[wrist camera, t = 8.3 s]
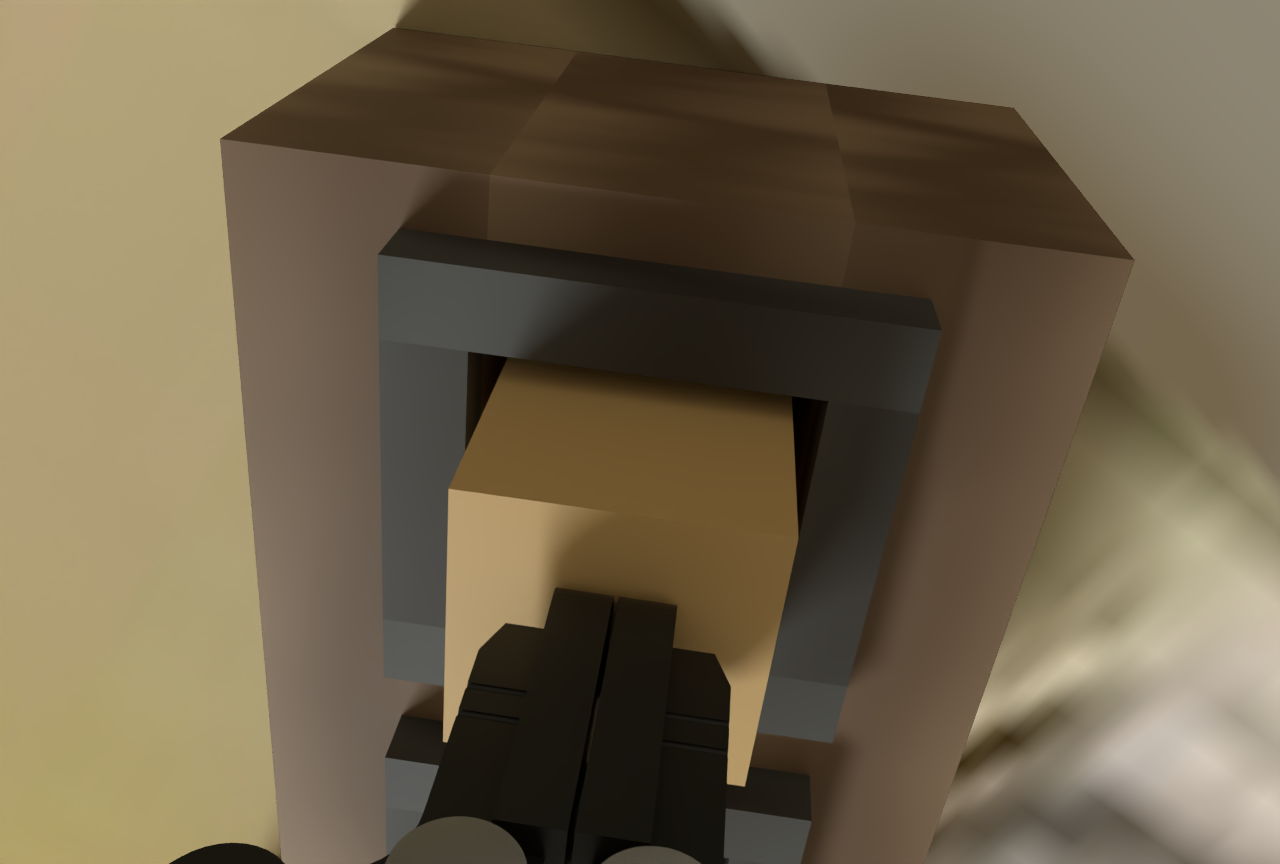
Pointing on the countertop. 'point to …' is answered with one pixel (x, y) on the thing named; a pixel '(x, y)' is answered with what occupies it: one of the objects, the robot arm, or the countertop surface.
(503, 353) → the walnut block
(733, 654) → the ochre peg
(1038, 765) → the countertop surface
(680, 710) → the robot arm
